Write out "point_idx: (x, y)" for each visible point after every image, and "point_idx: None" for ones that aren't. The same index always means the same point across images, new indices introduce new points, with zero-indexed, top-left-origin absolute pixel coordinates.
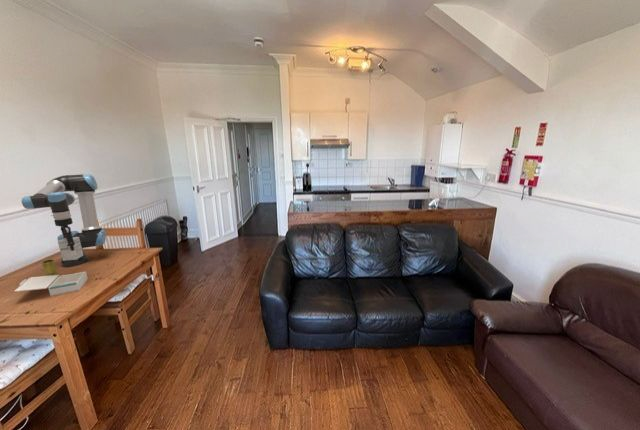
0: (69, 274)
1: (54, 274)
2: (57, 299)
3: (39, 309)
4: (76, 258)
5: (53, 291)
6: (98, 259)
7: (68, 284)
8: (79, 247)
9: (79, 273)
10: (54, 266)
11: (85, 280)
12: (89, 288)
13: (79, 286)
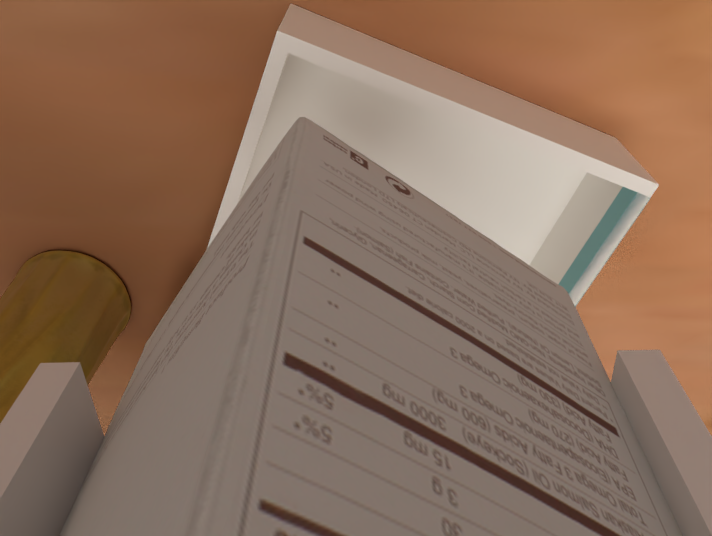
0: (224, 222)
1: (83, 345)
2: (637, 309)
3: (707, 410)
4: (570, 299)
5: None
6: None
7: (603, 262)
8: (413, 345)
9: (267, 113)
10: (6, 401)
11: (382, 45)
12: (675, 39)
13: (600, 141)
